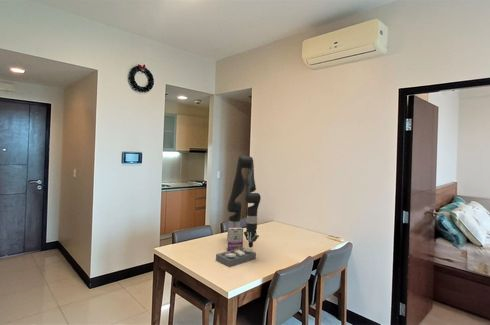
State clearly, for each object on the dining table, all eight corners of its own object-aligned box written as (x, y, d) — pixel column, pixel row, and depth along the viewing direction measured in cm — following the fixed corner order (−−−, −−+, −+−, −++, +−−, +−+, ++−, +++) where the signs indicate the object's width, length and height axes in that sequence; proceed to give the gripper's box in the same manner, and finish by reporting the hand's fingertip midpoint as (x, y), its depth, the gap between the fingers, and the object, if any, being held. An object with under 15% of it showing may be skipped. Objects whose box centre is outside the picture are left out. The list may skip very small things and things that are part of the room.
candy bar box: (241, 248, 209) (242, 227, 209) (242, 250, 204) (243, 228, 204) (226, 248, 207) (227, 227, 207) (227, 251, 202) (228, 229, 202)
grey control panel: (215, 260, 183) (216, 254, 183) (241, 252, 200) (242, 247, 200) (229, 266, 173) (229, 260, 173) (255, 258, 190) (256, 252, 190)
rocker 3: (243, 251, 190) (242, 249, 190) (247, 250, 193) (246, 248, 193) (249, 252, 186) (248, 250, 186) (253, 251, 189) (253, 248, 189)
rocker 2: (234, 252, 185) (234, 250, 185) (238, 251, 188) (239, 249, 187) (240, 256, 181) (240, 254, 180) (244, 255, 183) (244, 253, 183)
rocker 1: (225, 256, 179) (225, 254, 179) (229, 255, 182) (229, 252, 182) (231, 257, 175) (231, 255, 175) (235, 256, 178) (235, 253, 178)
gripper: (262, 223, 186) (261, 248, 186) (248, 219, 195) (247, 243, 195) (254, 224, 180) (253, 250, 181) (241, 220, 190) (240, 245, 190)
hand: (250, 247), depth 188 cm, fingers closed
